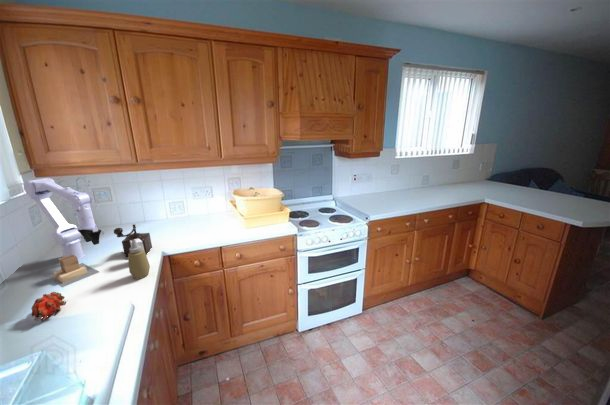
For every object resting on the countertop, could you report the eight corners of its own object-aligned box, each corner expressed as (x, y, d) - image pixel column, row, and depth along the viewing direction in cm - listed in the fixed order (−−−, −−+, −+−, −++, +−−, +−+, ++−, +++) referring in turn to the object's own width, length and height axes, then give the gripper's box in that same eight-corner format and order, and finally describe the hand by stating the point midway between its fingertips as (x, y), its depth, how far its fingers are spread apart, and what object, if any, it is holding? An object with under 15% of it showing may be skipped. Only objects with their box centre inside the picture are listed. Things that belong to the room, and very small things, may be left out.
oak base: (54, 277, 118) (53, 272, 118) (78, 268, 126) (77, 263, 125) (63, 283, 114) (61, 277, 113) (87, 273, 122) (86, 267, 121)
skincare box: (147, 262, 132) (143, 241, 128) (137, 266, 129) (132, 243, 125) (143, 258, 136) (139, 237, 132) (134, 262, 133) (129, 240, 129)
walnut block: (61, 270, 119) (58, 258, 117) (75, 265, 123) (71, 254, 121) (66, 273, 116) (62, 261, 115) (80, 268, 120) (76, 256, 119)
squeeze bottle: (138, 271, 124) (130, 236, 119) (155, 271, 124) (148, 236, 119) (126, 280, 116) (118, 243, 111) (144, 280, 116) (136, 243, 111)
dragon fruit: (65, 305, 103) (47, 331, 92) (38, 299, 99) (17, 325, 88) (74, 290, 101) (57, 313, 91) (48, 283, 97) (27, 307, 87)
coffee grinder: (131, 249, 147) (125, 219, 142) (152, 247, 149) (147, 217, 144) (118, 262, 132) (110, 229, 127) (142, 260, 135) (135, 227, 130)
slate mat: (46, 277, 120) (45, 276, 120) (82, 264, 132) (82, 262, 131) (62, 288, 111) (62, 287, 111) (100, 273, 123) (99, 271, 123)
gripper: (69, 217, 128) (76, 243, 131) (82, 222, 121) (90, 248, 125) (86, 213, 134) (92, 238, 137) (100, 217, 127) (106, 243, 130)
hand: (92, 242), depth 131 cm, fingers open, 7 cm apart
